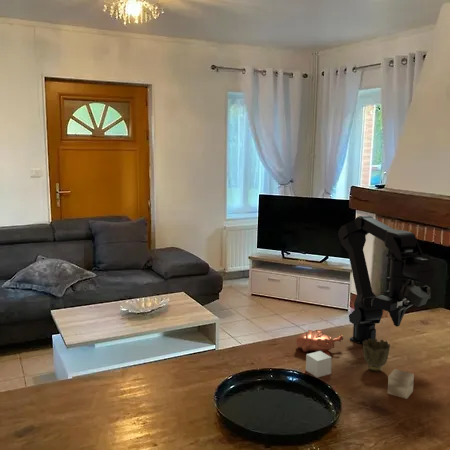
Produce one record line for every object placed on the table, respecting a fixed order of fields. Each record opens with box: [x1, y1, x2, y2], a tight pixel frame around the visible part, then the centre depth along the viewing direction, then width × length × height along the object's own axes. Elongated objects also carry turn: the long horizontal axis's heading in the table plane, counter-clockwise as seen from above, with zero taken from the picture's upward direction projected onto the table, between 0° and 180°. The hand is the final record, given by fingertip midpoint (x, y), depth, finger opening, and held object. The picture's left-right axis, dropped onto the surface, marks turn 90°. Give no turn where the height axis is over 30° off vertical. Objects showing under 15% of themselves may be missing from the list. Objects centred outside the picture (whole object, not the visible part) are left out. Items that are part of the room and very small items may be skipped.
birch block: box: [386, 368, 415, 400], centre depth 130 cm, size 5×5×5 cm
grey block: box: [305, 351, 333, 378], centre depth 141 cm, size 5×5×5 cm
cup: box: [362, 338, 391, 372], centre depth 142 cm, size 8×7×8 cm
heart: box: [295, 329, 344, 357], centre depth 157 cm, size 6×12×15 cm
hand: (396, 326), depth 148 cm, fingers closed
